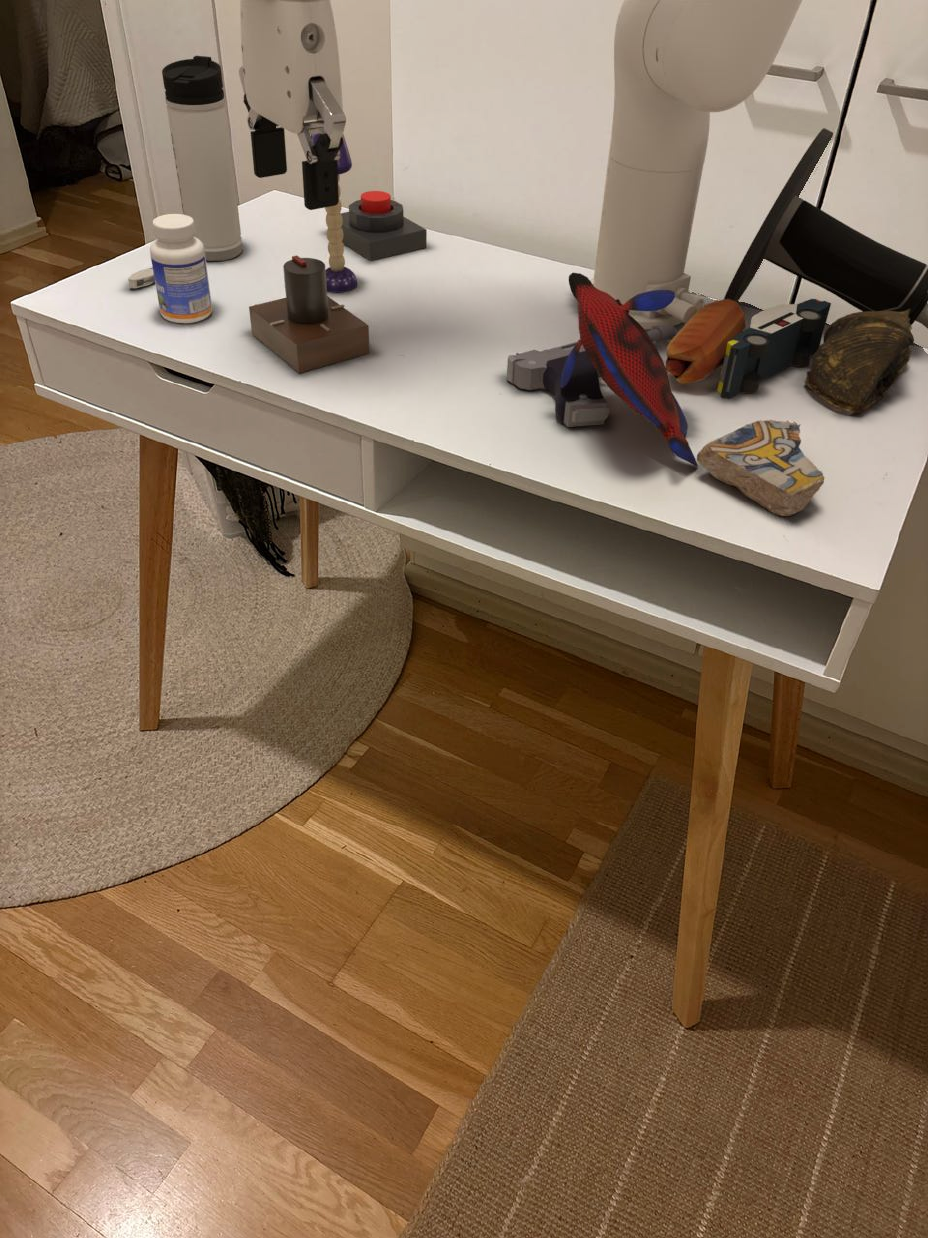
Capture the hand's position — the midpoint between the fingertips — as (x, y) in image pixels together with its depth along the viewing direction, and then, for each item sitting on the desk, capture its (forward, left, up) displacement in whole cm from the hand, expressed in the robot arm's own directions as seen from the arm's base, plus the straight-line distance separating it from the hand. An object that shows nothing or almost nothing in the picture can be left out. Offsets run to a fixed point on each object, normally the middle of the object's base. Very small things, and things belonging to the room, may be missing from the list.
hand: (295, 190), depth 92 cm
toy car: (-32, -36, -12) cm, 50 cm away
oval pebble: (+22, +8, -15) cm, 28 cm away
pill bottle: (+12, +8, -15) cm, 21 cm away
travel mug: (+26, -2, -15) cm, 30 cm away
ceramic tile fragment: (-46, -23, -13) cm, 53 cm away
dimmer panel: (-1, 0, -15) cm, 15 cm away
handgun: (-30, -21, -13) cm, 39 cm away
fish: (-31, -10, -5) cm, 33 cm away
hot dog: (-28, -32, -11) cm, 44 cm away
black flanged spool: (-19, -46, -5) cm, 50 cm away
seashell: (-37, -42, -15) cm, 58 cm away
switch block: (+19, -20, -15) cm, 32 cm away
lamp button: (+19, -20, -11) cm, 30 cm away
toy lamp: (+10, -9, -15) cm, 20 cm away
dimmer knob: (-1, 0, -12) cm, 12 cm away
